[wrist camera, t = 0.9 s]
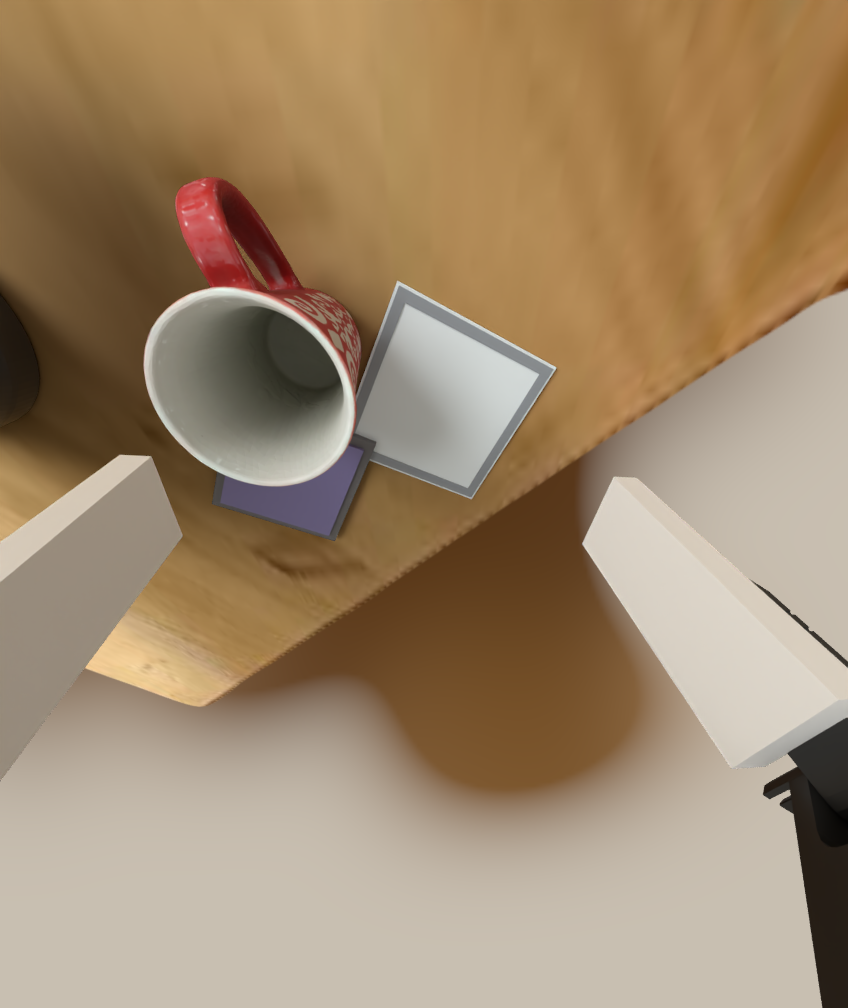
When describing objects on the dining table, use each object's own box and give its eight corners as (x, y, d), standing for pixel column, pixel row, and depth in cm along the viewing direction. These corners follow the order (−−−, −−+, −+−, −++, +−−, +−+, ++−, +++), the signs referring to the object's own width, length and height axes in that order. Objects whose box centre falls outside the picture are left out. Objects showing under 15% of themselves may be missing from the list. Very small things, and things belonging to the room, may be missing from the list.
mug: (383, 396, 29) (372, 478, 18) (277, 409, 29) (201, 497, 18) (350, 198, 22) (298, 134, 11) (209, 216, 22) (17, 170, 11)
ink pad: (216, 498, 34) (209, 506, 33) (236, 384, 28) (229, 389, 27) (336, 535, 37) (334, 543, 36) (376, 440, 31) (375, 447, 30)
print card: (337, 446, 32) (336, 448, 31) (397, 280, 25) (397, 280, 24) (471, 497, 36) (471, 499, 35) (555, 366, 29) (557, 368, 28)
